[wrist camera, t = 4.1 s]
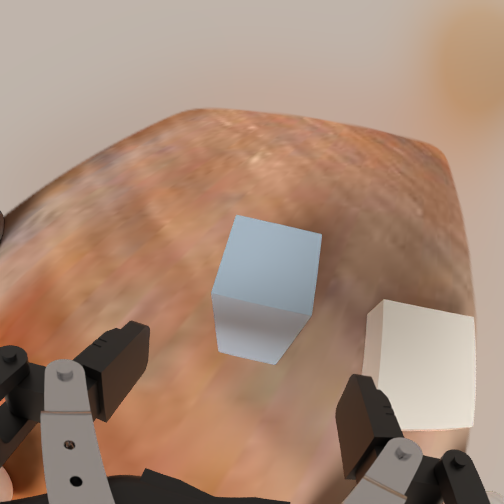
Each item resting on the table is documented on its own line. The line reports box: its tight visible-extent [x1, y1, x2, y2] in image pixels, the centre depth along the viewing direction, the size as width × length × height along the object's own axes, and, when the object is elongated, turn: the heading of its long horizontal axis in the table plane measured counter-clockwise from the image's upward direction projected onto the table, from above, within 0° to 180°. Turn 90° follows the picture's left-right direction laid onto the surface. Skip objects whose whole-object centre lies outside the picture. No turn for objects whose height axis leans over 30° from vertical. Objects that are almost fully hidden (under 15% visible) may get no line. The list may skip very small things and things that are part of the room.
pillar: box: [211, 215, 322, 365], centre depth 17 cm, size 4×4×10 cm
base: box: [362, 299, 476, 431], centre depth 19 cm, size 9×9×3 cm
